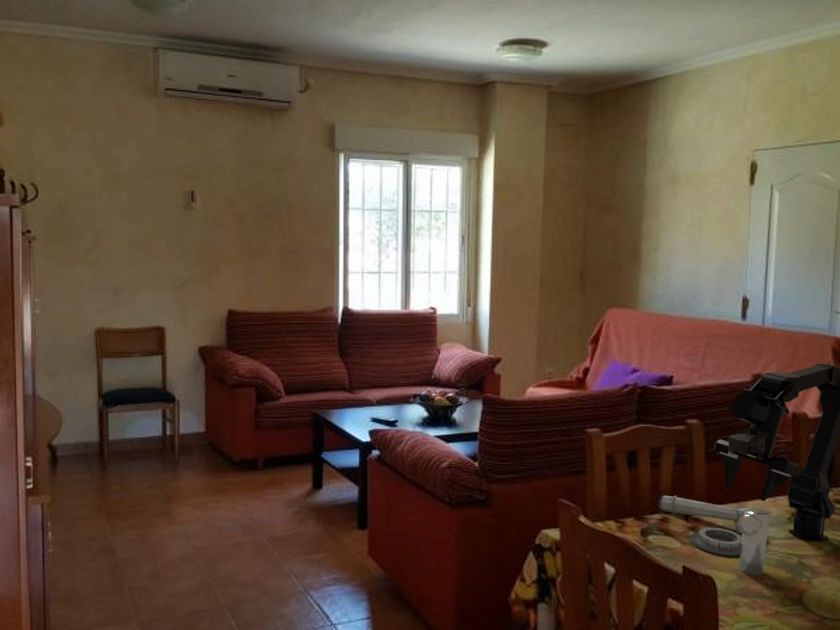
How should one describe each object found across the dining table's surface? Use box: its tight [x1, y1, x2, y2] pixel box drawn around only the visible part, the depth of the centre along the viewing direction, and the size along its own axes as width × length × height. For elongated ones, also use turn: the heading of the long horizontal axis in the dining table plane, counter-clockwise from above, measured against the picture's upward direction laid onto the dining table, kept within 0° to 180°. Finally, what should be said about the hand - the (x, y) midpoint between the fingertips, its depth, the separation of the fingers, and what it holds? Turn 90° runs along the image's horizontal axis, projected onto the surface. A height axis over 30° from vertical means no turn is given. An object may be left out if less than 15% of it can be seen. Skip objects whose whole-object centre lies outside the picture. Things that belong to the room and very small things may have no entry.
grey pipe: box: [658, 495, 748, 534], centre depth 198 cm, size 5×7×25 cm
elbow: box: [737, 507, 770, 576], centre depth 169 cm, size 7×5×13 cm
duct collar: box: [690, 527, 742, 558], centre depth 183 cm, size 13×13×2 cm
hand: (744, 493), depth 177 cm, fingers open, 9 cm apart
